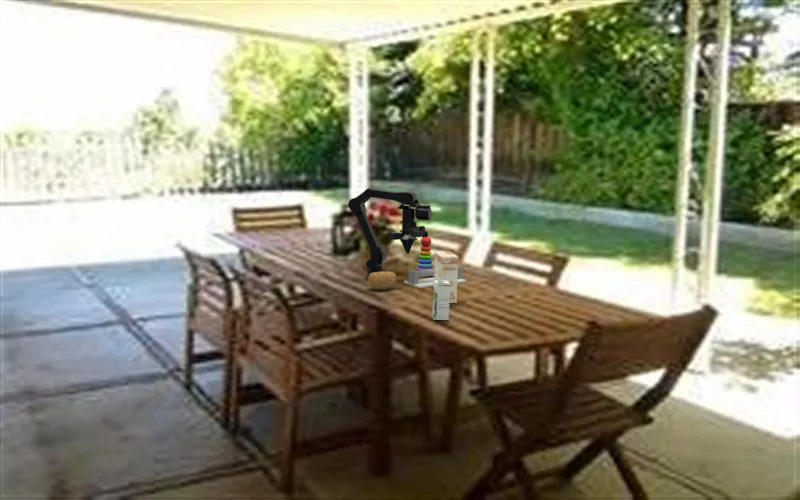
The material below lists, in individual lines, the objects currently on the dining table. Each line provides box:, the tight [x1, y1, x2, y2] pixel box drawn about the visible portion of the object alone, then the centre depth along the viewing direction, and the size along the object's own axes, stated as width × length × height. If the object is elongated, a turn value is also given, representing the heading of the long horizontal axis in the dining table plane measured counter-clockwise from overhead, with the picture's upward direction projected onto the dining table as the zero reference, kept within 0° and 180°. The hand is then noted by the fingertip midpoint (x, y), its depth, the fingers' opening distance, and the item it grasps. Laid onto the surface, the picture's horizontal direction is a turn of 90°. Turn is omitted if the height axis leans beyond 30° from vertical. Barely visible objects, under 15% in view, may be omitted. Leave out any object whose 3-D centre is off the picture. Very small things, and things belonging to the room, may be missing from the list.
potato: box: [367, 271, 397, 291], centre depth 390 cm, size 10×14×8 cm
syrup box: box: [432, 280, 450, 321], centre depth 337 cm, size 6×6×14 cm
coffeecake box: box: [433, 250, 459, 303], centre depth 369 cm, size 15×7×20 cm, turn 9°
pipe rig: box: [403, 265, 467, 289], centre depth 406 cm, size 26×12×7 cm, turn 123°
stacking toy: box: [416, 236, 433, 278], centre depth 423 cm, size 8×8×19 cm
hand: (407, 253), depth 406 cm, fingers closed
